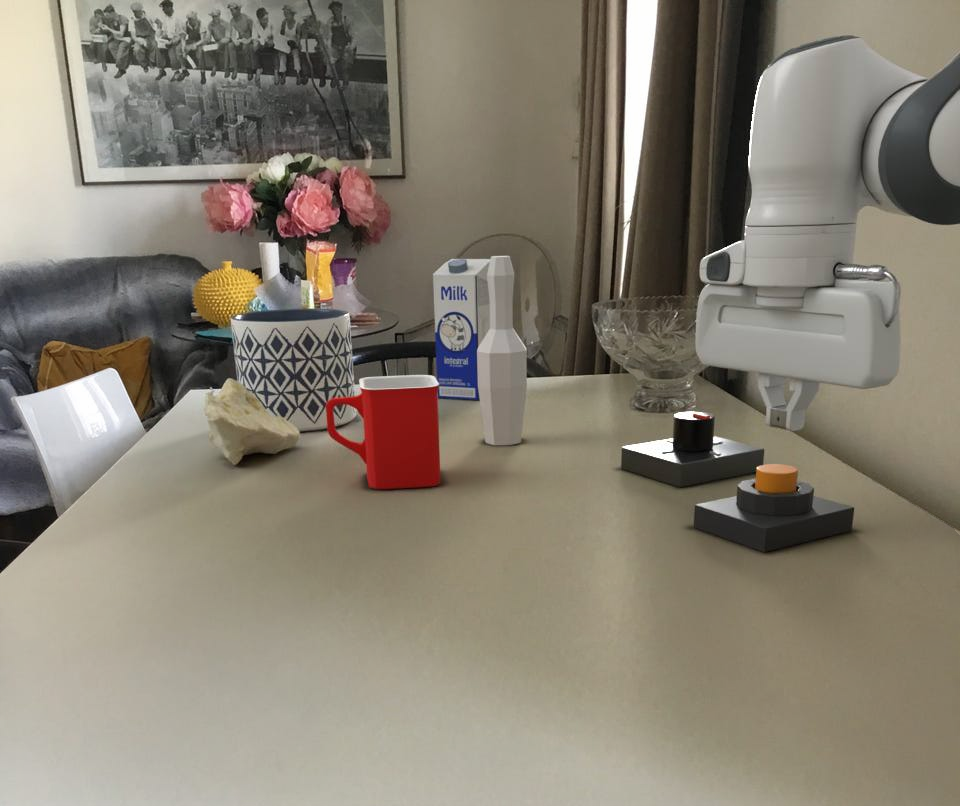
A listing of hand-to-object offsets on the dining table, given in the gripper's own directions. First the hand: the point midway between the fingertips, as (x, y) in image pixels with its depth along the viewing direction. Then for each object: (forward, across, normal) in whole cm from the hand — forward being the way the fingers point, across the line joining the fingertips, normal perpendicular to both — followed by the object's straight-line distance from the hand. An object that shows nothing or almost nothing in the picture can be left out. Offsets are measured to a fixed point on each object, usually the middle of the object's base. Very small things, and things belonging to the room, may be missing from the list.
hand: (784, 428), depth 93 cm
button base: (+9, 0, 0) cm, 9 cm away
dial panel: (+9, +21, -9) cm, 25 cm away
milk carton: (+9, +77, -13) cm, 79 cm away
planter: (+8, +74, +16) cm, 77 cm away
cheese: (+9, +55, +30) cm, 64 cm away
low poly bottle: (+9, +46, 0) cm, 47 cm away
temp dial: (+7, +21, -9) cm, 24 cm away
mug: (+9, +37, +21) cm, 44 cm away
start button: (+6, 0, 0) cm, 6 cm away
